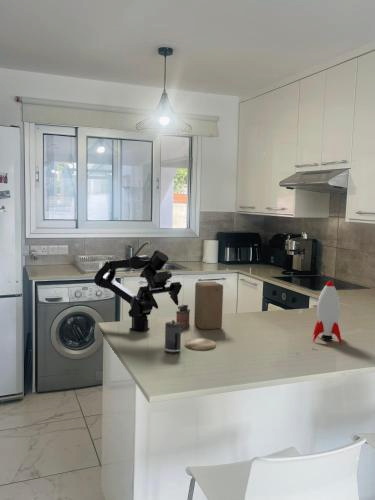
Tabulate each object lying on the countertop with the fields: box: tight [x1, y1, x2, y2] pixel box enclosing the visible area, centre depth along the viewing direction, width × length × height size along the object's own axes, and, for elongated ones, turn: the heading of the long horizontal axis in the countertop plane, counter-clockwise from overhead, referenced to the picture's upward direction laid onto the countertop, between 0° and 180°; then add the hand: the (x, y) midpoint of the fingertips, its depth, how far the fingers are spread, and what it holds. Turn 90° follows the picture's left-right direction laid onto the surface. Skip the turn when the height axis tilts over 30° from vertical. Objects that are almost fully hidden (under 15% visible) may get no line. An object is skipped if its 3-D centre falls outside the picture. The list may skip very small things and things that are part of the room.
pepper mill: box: [164, 319, 182, 355], centre depth 166 cm, size 8×6×12 cm
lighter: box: [175, 304, 191, 329], centre depth 203 cm, size 8×3×10 cm, turn 141°
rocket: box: [312, 280, 343, 346], centre depth 187 cm, size 11×11×25 cm
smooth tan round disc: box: [184, 337, 217, 351], centre depth 176 cm, size 12×12×1 cm
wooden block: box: [193, 281, 224, 331], centre depth 204 cm, size 10×10×20 cm
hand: (167, 306), depth 180 cm, fingers open, 9 cm apart
